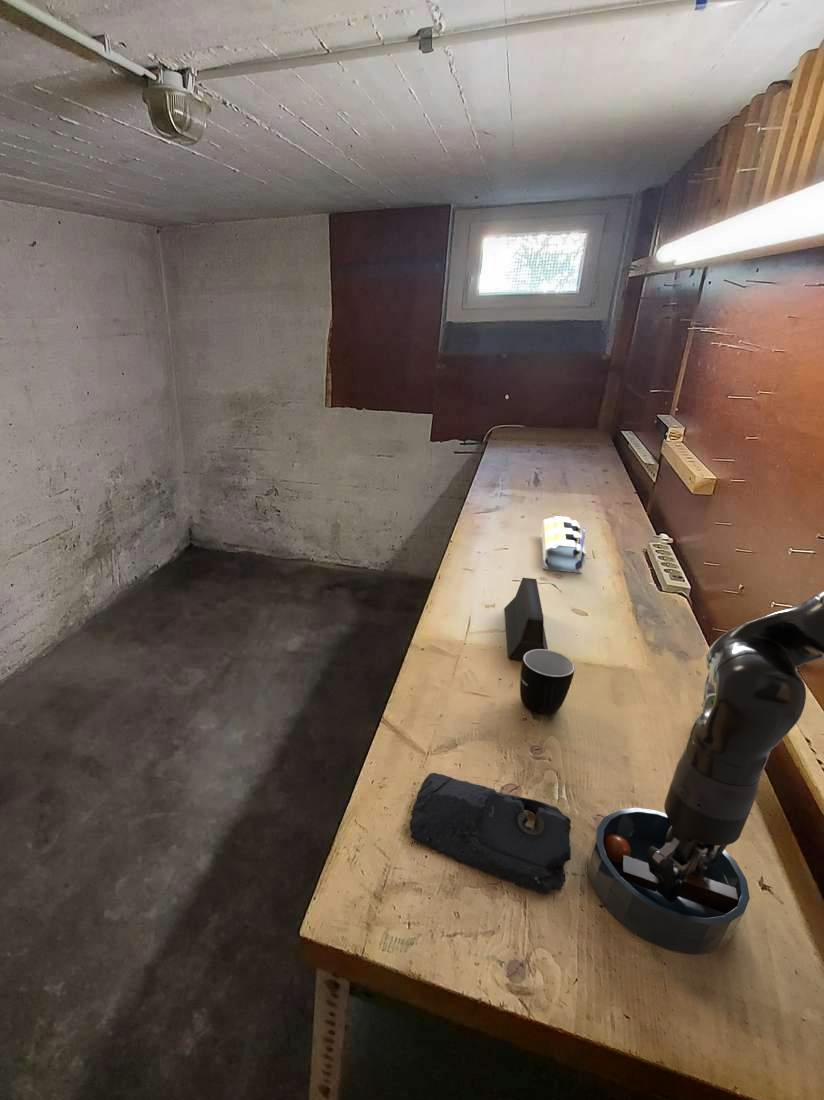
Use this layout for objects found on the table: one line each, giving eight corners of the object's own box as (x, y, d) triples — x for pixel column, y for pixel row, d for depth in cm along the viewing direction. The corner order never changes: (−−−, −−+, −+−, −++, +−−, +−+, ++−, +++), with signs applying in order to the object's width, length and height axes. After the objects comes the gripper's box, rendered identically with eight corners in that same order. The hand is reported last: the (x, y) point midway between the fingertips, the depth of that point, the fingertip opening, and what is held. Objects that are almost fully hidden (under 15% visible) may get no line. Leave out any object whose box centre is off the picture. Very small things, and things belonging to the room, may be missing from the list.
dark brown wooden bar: (728, 900, 71) (735, 884, 70) (731, 919, 69) (739, 903, 68) (620, 862, 77) (625, 847, 75) (620, 879, 75) (625, 864, 73)
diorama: (581, 573, 160) (591, 530, 154) (542, 568, 163) (550, 526, 157) (575, 540, 180) (583, 502, 175) (540, 537, 184) (547, 499, 178)
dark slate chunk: (427, 771, 95) (430, 749, 93) (570, 817, 86) (576, 795, 84) (401, 841, 83) (403, 818, 81) (564, 904, 74) (571, 880, 72)
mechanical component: (691, 740, 100) (708, 695, 95) (693, 708, 107) (709, 665, 103) (711, 746, 98) (729, 701, 94) (712, 713, 106) (729, 670, 101)
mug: (514, 687, 115) (522, 645, 110) (562, 695, 112) (572, 652, 108) (516, 725, 105) (524, 681, 100) (568, 735, 102) (580, 690, 97)
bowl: (698, 846, 81) (711, 817, 78) (760, 967, 66) (778, 936, 64) (574, 829, 84) (582, 800, 81) (608, 940, 70) (619, 910, 67)
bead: (623, 846, 80) (598, 832, 81) (638, 840, 77) (611, 826, 78) (619, 870, 78) (593, 855, 79) (634, 865, 75) (607, 849, 76)
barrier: (550, 665, 121) (559, 625, 117) (507, 659, 124) (514, 620, 119) (541, 612, 141) (548, 576, 137) (504, 607, 144) (509, 572, 139)
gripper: (702, 838, 60) (665, 940, 67) (784, 794, 65) (741, 893, 72) (638, 790, 66) (610, 887, 74) (716, 752, 71) (683, 847, 78)
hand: (675, 889), depth 73 cm, fingers closed on dark brown wooden bar, 3 cm apart
